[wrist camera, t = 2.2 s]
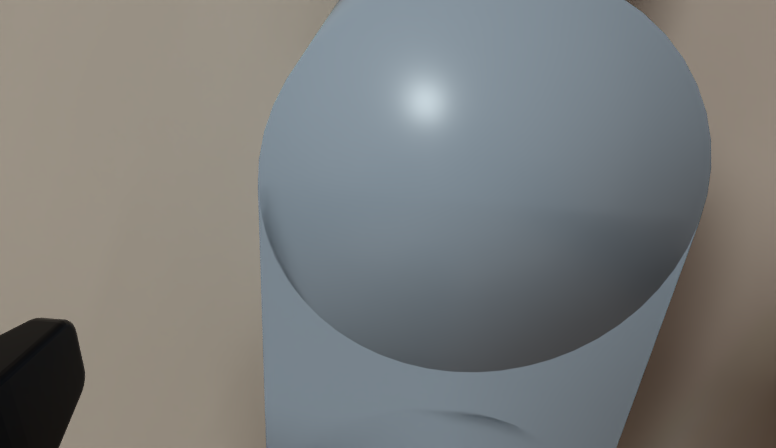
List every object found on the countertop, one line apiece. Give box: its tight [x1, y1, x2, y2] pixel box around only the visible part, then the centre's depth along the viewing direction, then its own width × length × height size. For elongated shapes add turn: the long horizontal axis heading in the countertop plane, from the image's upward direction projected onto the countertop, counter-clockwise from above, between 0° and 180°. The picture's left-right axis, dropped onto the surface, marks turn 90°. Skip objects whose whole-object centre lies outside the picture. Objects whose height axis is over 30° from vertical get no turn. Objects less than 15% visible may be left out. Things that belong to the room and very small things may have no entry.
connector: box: [258, 0, 711, 448], centre depth 9 cm, size 12×4×5 cm, turn 176°
